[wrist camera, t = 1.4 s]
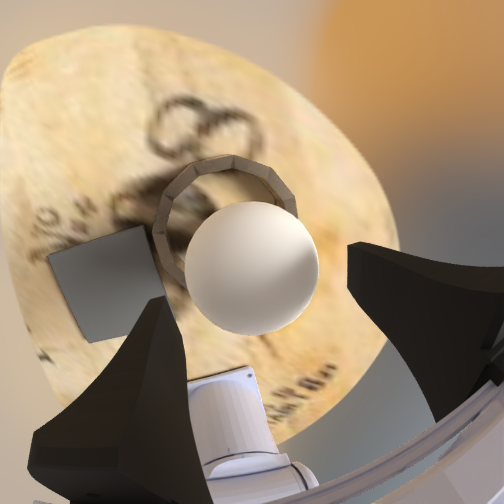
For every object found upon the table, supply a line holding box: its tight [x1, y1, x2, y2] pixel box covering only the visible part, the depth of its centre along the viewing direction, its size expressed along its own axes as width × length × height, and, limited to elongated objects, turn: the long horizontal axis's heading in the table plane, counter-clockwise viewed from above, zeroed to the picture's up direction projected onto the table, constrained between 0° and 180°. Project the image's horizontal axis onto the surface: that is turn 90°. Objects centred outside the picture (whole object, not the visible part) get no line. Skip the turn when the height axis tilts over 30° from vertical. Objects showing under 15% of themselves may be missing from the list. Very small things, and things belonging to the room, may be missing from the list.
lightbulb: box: [184, 201, 319, 335], centre depth 16 cm, size 6×6×11 cm
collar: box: [152, 154, 298, 290], centre depth 20 cm, size 10×10×2 cm
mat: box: [48, 225, 176, 343], centre depth 20 cm, size 8×8×1 cm
